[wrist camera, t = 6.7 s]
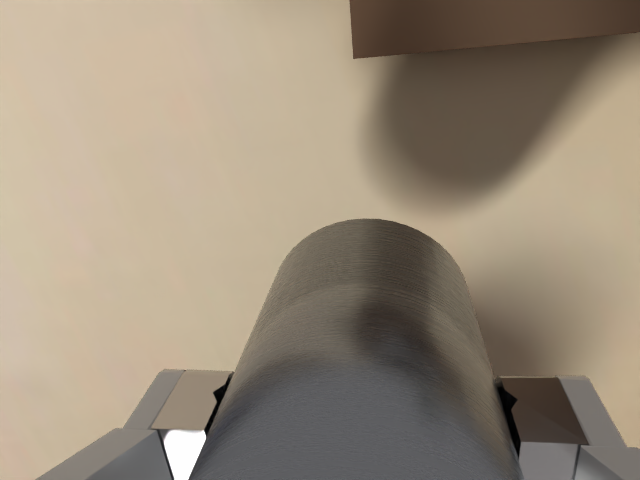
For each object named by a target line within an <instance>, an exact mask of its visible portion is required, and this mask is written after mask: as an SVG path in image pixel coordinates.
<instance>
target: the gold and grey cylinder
mask: <svg viewBox="0 0 640 480" xmlns="http://www.w3.org/2000/svg"><path fill="white" fill-rule="evenodd" d="M188 480H525V479H524V476H523V473H522V469H521V466H520V462H519V459H518V456H517V452H516V449H515V446H514V442H513V439H512V435H511V432H510V429H509V425H508V422H507V418H506V415H505V412H504V408H503V405H502V402H501V398H500V395H499V391H498V388H497V385H496V381H495V378H494V375H493V371H492V368H491V364H490V361H489V358H488V354H487V351H486V348H485V344H484V341H483V337H482V334H481V331H480V327H479V324H478V321H477V317H476V314H475V310H474V307H473V304H472V300H471V297H470V293H469V290H468V287H467V284H466V281H465V278H464V276H463V274H462V272H461V270H460V268H459V266H458V265H457V263H456V262H455V260H454V259H453V258H452V256H451V255H450V254H449V253H448V252H447V251H446V250H445V249H444V248H443V247H442V246H441V245H440V244H438V243H437V242H436V241H435V240H433V239H432V238H431V237H429V236H427V235H426V234H424V233H422V232H420V231H419V230H416V229H414V228H412V227H409V226H407V225H404V224H400V223H397V222H393V221H387V220H381V219H354V220H347V221H343V222H338V223H335V224H332V225H329V226H326V227H324V228H322V229H320V230H318V231H316V232H314V233H312V234H310V235H309V236H307V237H306V238H305V239H303V240H302V241H301V242H300V243H298V244H297V245H296V246H295V247H294V248H293V249H292V250H291V252H290V253H289V254H288V255H287V256H286V258H285V259H284V261H283V263H282V264H281V266H280V268H279V270H278V273H277V275H276V277H275V280H274V282H273V284H272V286H271V289H270V291H269V293H268V296H267V298H266V300H265V303H264V305H263V307H262V310H261V312H260V314H259V316H258V319H257V321H256V323H255V326H254V328H253V330H252V333H251V335H250V337H249V340H248V342H247V344H246V346H245V349H244V351H243V353H242V356H241V358H240V360H239V363H238V365H237V367H236V370H235V372H234V374H233V376H232V379H231V381H230V383H229V386H228V388H227V390H226V393H225V395H224V397H223V400H222V402H221V404H220V406H219V409H218V411H217V413H216V416H215V418H214V420H213V423H212V425H211V427H210V430H209V432H208V434H207V436H206V439H205V441H204V443H203V446H202V448H201V450H200V453H199V455H198V457H197V460H196V462H195V464H194V466H193V469H192V471H191V473H190V476H189V478H188Z"/></svg>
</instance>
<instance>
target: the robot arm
mask: <svg viewBox="0 0 640 480" xmlns="http://www.w3.org/2000/svg"><path fill="white" fill-rule="evenodd" d="M233 374H234V372H233V371H211V370H176V369H164V370H163V371H161V372H159V373H158V375H157V376H156V378H155V379H154V381H153V382H152V384H151V385H150V387H149V389H148V390H147V392H146V393H145V395H144V396H143V398H142V399H141V401H140V402H139V404H138V405H137V407H136V408H135V410H134V412H133V413H132V415H131V416H130V418H129V419H128V421H127V422H126V424H125V425H124V427H123V428H122V429H120V428H115V429H113V430H112V431H110V432H109V433H107V434H106V435H104V436H103V437H101V438H99V439H98V440H96V441H95V442H93V443H92V444H90V445H89V446H87V447H85V448H84V449H82V450H81V451H79V452H78V453H76V454H75V455H73V456H71V457H70V458H68V459H67V460H65V461H64V462H62V463H61V464H59V465H57V466H56V467H54V468H53V469H51V470H50V471H48V472H47V473H45V474H43V475H42V476H40V477H39V478H37V479H36V480H188V478H189V476H190V473H191V471H192V469H193V466H194V464H195V462H196V460H197V457H198V455H199V453H200V450H201V448H202V446H203V443H204V441H205V439H206V436H207V434H208V432H209V430H210V427H211V425H212V423H213V420H214V418H215V416H216V413H217V411H218V409H219V406H220V404H221V402H222V400H223V397H224V395H225V393H226V390H227V388H228V386H229V383H230V381H231V379H232V376H233ZM496 385H497V388H498V391H499V395H500V398H501V402H502V405H503V408H504V412H505V415H506V418H507V422H508V425H509V429H510V432H511V435H512V439H513V442H514V446H515V449H516V452H517V456H518V459H519V462H520V466H521V469H522V473H523V476H524V479H525V480H640V449H638V448H634V447H627V445H626V444H625V442H624V440H623V438H622V437H621V435H620V433H619V431H618V429H617V428H616V426H615V424H614V422H613V421H612V419H611V417H610V415H609V413H608V412H607V410H606V408H605V406H604V404H603V403H602V401H601V399H600V397H599V396H598V394H597V392H596V390H595V388H594V387H593V385H592V383H591V381H590V379H588V378H587V377H586V376H555V377H553V376H497V380H496Z"/></svg>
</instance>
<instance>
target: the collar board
mask: <svg viewBox="0 0 640 480" xmlns="http://www.w3.org/2000/svg"><path fill="white" fill-rule="evenodd" d="M350 13H351V29H352V44H353V59H357V58H368V57H378V56H389V55H400V54H411V53H421V52H432V51H443V50H454V49H464V48H475V47H486V46H497V45H507V44H518V43H529V42H540V41H550V40H561V39H572V38H583V37H593V36H604V35H615V34H625V33H636V32H640V0H350Z"/></svg>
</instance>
